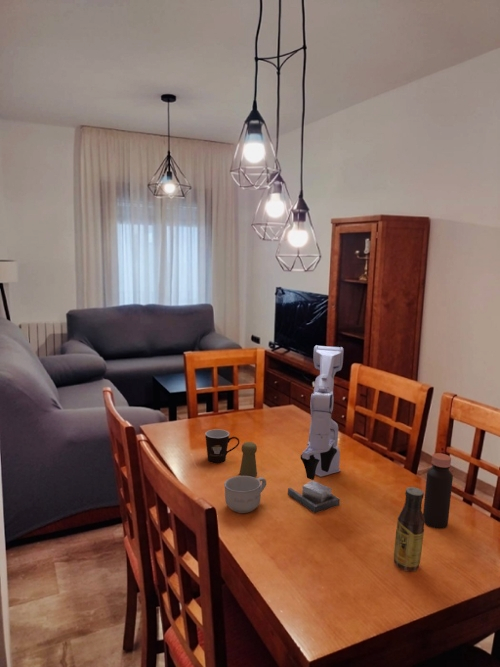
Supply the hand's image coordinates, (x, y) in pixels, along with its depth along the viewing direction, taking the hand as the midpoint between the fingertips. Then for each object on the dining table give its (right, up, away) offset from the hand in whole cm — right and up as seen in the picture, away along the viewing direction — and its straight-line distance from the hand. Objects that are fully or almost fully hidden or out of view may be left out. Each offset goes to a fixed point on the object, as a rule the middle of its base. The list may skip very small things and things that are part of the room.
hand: (317, 474), depth 147 cm
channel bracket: (-1, -8, +3) cm, 9 cm away
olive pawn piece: (-21, -5, +19) cm, 29 cm away
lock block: (0, -9, +1) cm, 9 cm away
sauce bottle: (+18, -14, -28) cm, 36 cm away
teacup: (-21, -9, -3) cm, 23 cm away
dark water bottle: (+32, -12, -8) cm, 35 cm away
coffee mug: (-31, -3, +29) cm, 42 cm away
